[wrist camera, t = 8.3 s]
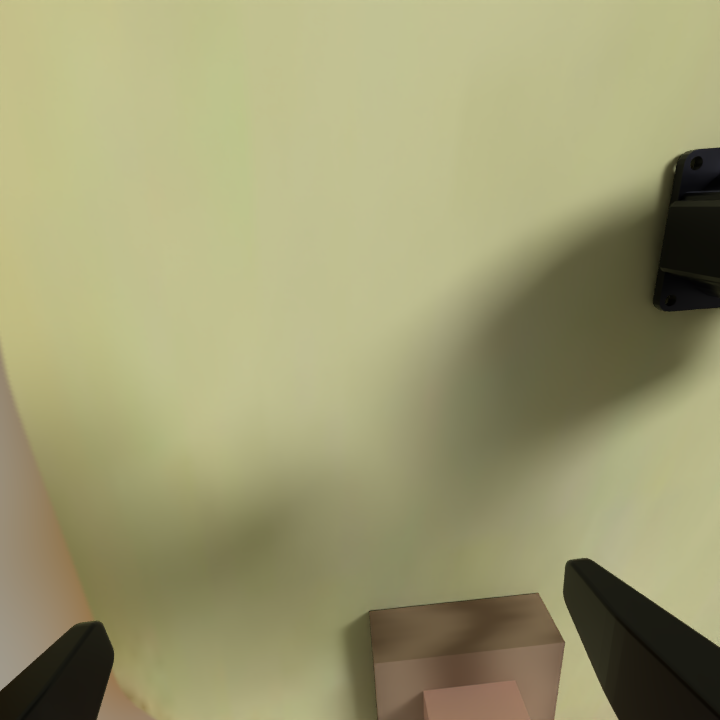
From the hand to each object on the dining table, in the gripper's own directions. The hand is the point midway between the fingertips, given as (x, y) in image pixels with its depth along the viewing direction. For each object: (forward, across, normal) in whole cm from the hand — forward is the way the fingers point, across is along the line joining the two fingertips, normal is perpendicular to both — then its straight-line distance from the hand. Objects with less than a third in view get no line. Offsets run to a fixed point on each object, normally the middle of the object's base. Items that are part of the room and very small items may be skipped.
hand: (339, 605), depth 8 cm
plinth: (+12, -5, +20) cm, 24 cm away
